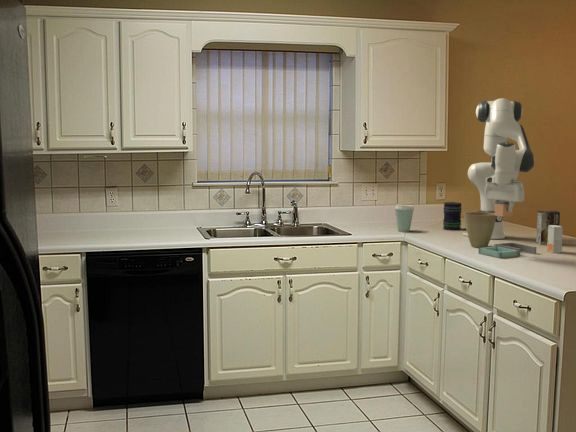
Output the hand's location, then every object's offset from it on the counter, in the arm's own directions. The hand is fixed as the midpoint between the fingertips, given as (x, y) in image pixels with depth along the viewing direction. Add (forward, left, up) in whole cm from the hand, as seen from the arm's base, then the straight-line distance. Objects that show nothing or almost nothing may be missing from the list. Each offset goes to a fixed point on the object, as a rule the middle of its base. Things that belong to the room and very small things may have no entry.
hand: (503, 210), depth 295 cm
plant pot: (-21, +7, -20) cm, 30 cm away
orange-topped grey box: (0, 0, -2) cm, 2 cm away
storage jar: (-73, +36, -20) cm, 84 cm away
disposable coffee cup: (-79, +7, -20) cm, 82 cm away
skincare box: (+6, +27, -20) cm, 34 cm away
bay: (-2, +10, -20) cm, 22 cm away
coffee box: (-12, +43, -20) cm, 49 cm away
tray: (0, -2, -20) cm, 20 cm away
